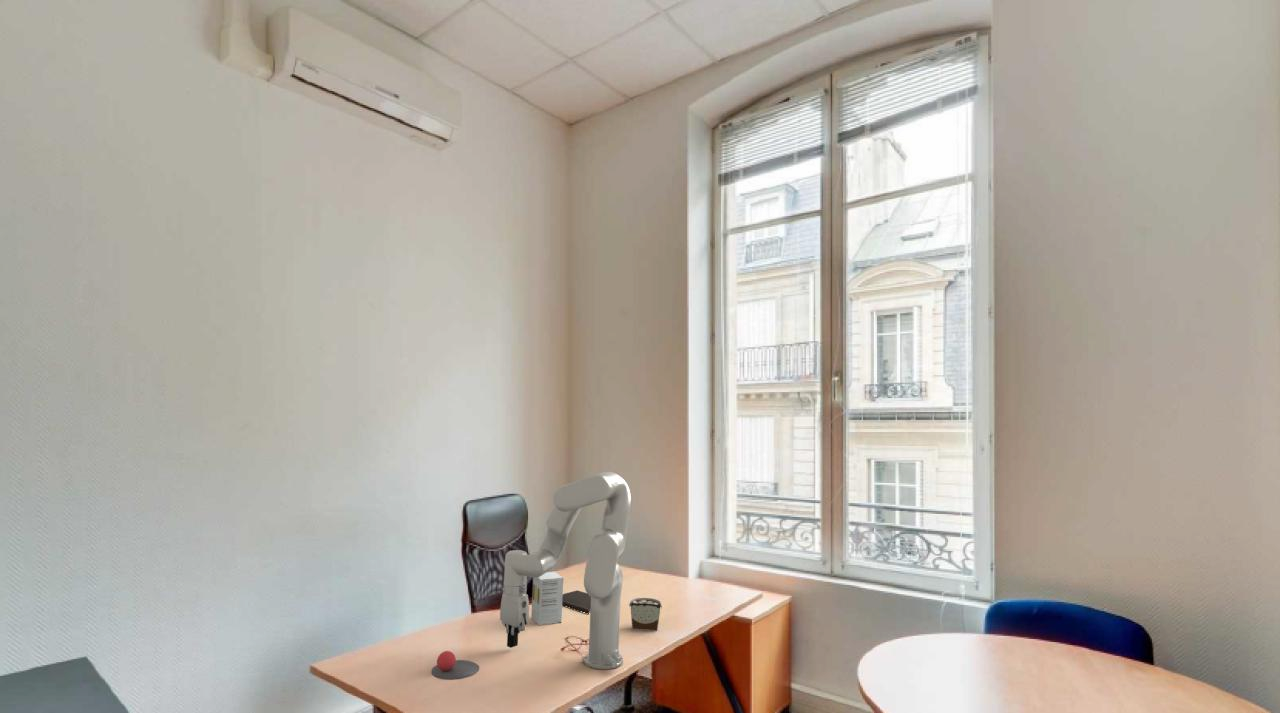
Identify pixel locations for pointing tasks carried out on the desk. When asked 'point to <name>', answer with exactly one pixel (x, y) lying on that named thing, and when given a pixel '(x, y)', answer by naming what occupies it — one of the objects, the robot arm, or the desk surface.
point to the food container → (645, 613)
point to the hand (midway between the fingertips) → (512, 646)
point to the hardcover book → (577, 601)
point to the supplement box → (547, 598)
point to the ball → (446, 661)
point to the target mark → (457, 670)
